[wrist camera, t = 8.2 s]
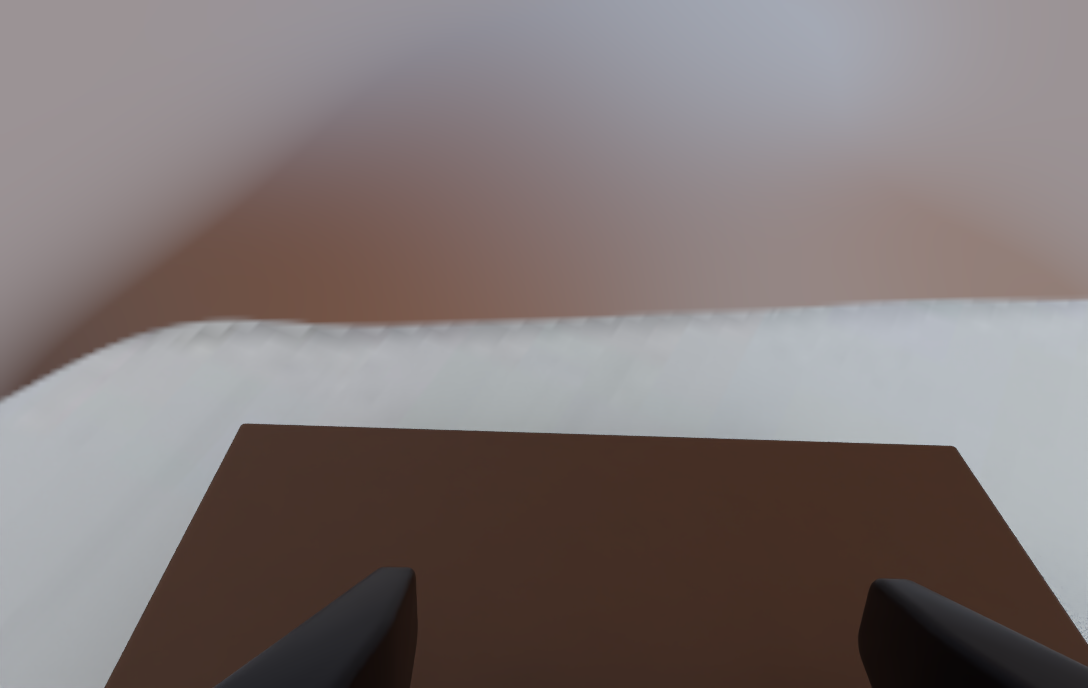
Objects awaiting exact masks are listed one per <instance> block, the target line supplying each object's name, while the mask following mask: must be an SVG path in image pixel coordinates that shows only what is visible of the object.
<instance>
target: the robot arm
mask: <svg viewBox="0 0 1088 688" xmlns="http://www.w3.org/2000/svg"><path fill="white" fill-rule="evenodd" d="M417 634H418V616H417V592H416V575H415V572H414V570H413V569H412V568H409V567H381V568H379V569H377V570H376V571H374V572H373V573H371V574H370V575H369V576H367V577H366V578H364V579H363V580H362V581H360V582H359V583H358V584H356V585H355V586H353V587H352V588H351V589H349V590H348V591H346V592H345V593H344V594H342V595H341V596H339V597H338V598H337V599H335V600H334V601H333V602H331V603H330V604H328V605H327V606H326V607H324V608H323V609H321V610H320V611H319V612H317V613H316V614H315V615H313V616H312V617H310V618H309V619H308V620H306V621H305V622H303V623H302V624H301V625H299V626H298V627H297V628H295V629H294V630H292V631H291V632H290V633H288V634H287V635H285V636H284V637H283V638H281V639H280V640H278V641H277V642H276V643H274V644H273V645H272V646H270V647H269V648H267V649H266V650H265V651H263V652H262V653H260V654H259V655H258V656H256V657H255V658H254V659H252V660H251V661H249V662H248V663H247V664H245V665H244V666H242V667H241V668H240V669H238V670H237V671H236V672H234V673H233V674H231V675H230V676H229V677H227V678H226V679H224V680H223V681H222V682H220V683H219V684H217V685H216V686H215V687H213V688H410V684H411V678H412V671H413V665H414V658H415V652H416V645H417ZM858 647H859V653H860V656H861V660H862V662H863V665H864V668H865V670H866V673H867V676H868V678H869V681H870V684H871V687H872V688H1088V667H1087V666H1085V665H1083V664H1081V663H1079V662H1077V661H1074V660H1072V659H1070V658H1068V657H1066V656H1064V655H1062V654H1060V653H1058V652H1056V651H1054V650H1052V649H1050V648H1048V647H1046V646H1044V645H1042V644H1040V643H1038V642H1036V641H1034V640H1032V639H1030V638H1028V637H1026V636H1023V635H1021V634H1019V633H1017V632H1015V631H1013V630H1011V629H1009V628H1007V627H1005V626H1003V625H1001V624H999V623H997V622H995V621H993V620H991V619H989V618H987V617H985V616H983V615H981V614H979V613H977V612H975V611H972V610H970V609H968V608H966V607H964V606H962V605H960V604H958V603H956V602H954V601H952V600H950V599H948V598H946V597H944V596H942V595H940V594H938V593H936V592H934V591H932V590H930V589H928V588H926V587H923V586H921V585H919V584H917V583H915V582H913V581H911V580H907V579H882V578H880V579H877V580H875V581H874V582H872V584H871V586H870V588H869V591H868V595H867V599H866V603H865V607H864V612H863V616H862V620H861V624H860V628H859V633H858Z"/></svg>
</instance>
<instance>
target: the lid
mask: <svg viewBox="0 0 1088 688" xmlns="http://www.w3.org/2000/svg"><path fill="white" fill-rule="evenodd" d="M381 567H409V568H412V569H413V570H414V572H415V575H416V592H417V616H418V634H417V645H416V652H415V658H414V665H413V671H412V678H411V684H410V688H872V687H871V684H870V681H869V678H868V676H867V673H866V670H865V668H864V665H863V662H862V660H861V656H860V653H859V647H858V633H859V628H860V624H861V620H862V616H863V612H864V607H865V603H866V599H867V595H868V591H869V588H870V586H871V584H872V582H874V581H875V580H877V579H880V578H882V579H907V580H911V581H913V582H915V583H917V584H919V585H921V586H923V587H926V588H928V589H930V590H932V591H934V592H936V593H938V594H940V595H942V596H944V597H946V598H948V599H950V600H952V601H954V602H956V603H958V604H960V605H962V606H964V607H966V608H968V609H970V610H972V611H975V612H977V613H979V614H981V615H983V616H985V617H987V618H989V619H991V620H993V621H995V622H997V623H999V624H1001V625H1003V626H1005V627H1007V628H1009V629H1011V630H1013V631H1015V632H1017V633H1019V634H1021V635H1023V636H1026V637H1028V638H1030V639H1032V640H1034V641H1036V642H1038V643H1040V644H1042V645H1044V646H1046V647H1048V648H1050V649H1052V650H1054V651H1056V652H1058V653H1060V654H1062V655H1064V656H1066V657H1068V658H1070V659H1072V660H1074V661H1077V662H1079V663H1081V664H1083V665H1085V666H1087V667H1088V644H1087V642H1086V641H1085V639H1084V638H1083V636H1082V635H1081V633H1080V632H1079V630H1078V629H1077V628H1076V626H1075V625H1074V623H1073V622H1072V620H1071V619H1070V617H1069V616H1068V614H1067V613H1066V611H1065V610H1064V608H1063V607H1062V605H1061V604H1060V602H1059V601H1058V599H1057V598H1056V596H1055V595H1054V593H1053V592H1052V590H1051V589H1050V587H1049V586H1048V584H1047V583H1046V581H1045V580H1044V578H1043V577H1042V575H1041V574H1040V572H1039V571H1038V569H1037V568H1036V566H1035V565H1034V563H1033V562H1032V561H1031V559H1030V558H1029V556H1028V555H1027V553H1026V552H1025V550H1024V549H1023V547H1022V546H1021V544H1020V543H1019V541H1018V540H1017V538H1016V537H1015V535H1014V534H1013V532H1012V531H1011V529H1010V528H1009V526H1008V525H1007V523H1006V522H1005V520H1004V519H1003V517H1002V516H1001V514H1000V513H999V511H998V510H997V508H996V507H995V505H994V504H993V502H992V501H991V499H990V498H989V497H988V495H987V494H986V492H985V491H984V489H983V488H982V486H981V485H980V483H979V482H978V480H977V479H976V477H975V476H974V474H973V473H972V471H971V470H970V468H969V467H968V465H967V464H966V462H965V461H964V459H963V458H962V456H961V455H960V453H959V452H958V450H957V449H956V448H955V447H953V446H937V445H905V444H874V443H842V442H810V441H779V440H747V439H715V438H684V437H652V436H621V435H589V434H557V433H526V432H494V431H462V430H431V429H399V428H367V427H336V426H304V425H273V424H242V425H241V426H240V428H239V430H238V432H237V434H236V436H235V438H234V440H233V442H232V444H231V446H230V448H229V449H228V451H227V453H226V455H225V457H224V459H223V461H222V463H221V465H220V467H219V469H218V471H217V472H216V474H215V476H214V478H213V480H212V482H211V484H210V486H209V488H208V490H207V492H206V494H205V496H204V497H203V499H202V501H201V503H200V505H199V507H198V509H197V511H196V513H195V515H194V517H193V519H192V520H191V522H190V524H189V526H188V528H187V530H186V532H185V534H184V536H183V538H182V540H181V542H180V544H179V545H178V547H177V549H176V551H175V553H174V555H173V557H172V559H171V561H170V563H169V565H168V567H167V568H166V570H165V572H164V574H163V576H162V578H161V580H160V582H159V584H158V586H157V588H156V590H155V592H154V593H153V595H152V597H151V599H150V601H149V603H148V605H147V607H146V609H145V611H144V613H143V615H142V616H141V618H140V620H139V622H138V624H137V626H136V628H135V630H134V632H133V634H132V636H131V638H130V640H129V641H128V643H127V645H126V647H125V649H124V651H123V653H122V655H121V657H120V659H119V661H118V663H117V664H116V666H115V668H114V670H113V672H112V674H111V676H110V678H109V680H108V682H107V684H106V686H105V688H213V687H215V686H216V685H217V684H219V683H220V682H222V681H223V680H224V679H226V678H227V677H229V676H230V675H231V674H233V673H234V672H236V671H237V670H238V669H240V668H241V667H242V666H244V665H245V664H247V663H248V662H249V661H251V660H252V659H254V658H255V657H256V656H258V655H259V654H260V653H262V652H263V651H265V650H266V649H267V648H269V647H270V646H272V645H273V644H274V643H276V642H277V641H278V640H280V639H281V638H283V637H284V636H285V635H287V634H288V633H290V632H291V631H292V630H294V629H295V628H297V627H298V626H299V625H301V624H302V623H303V622H305V621H306V620H308V619H309V618H310V617H312V616H313V615H315V614H316V613H317V612H319V611H320V610H321V609H323V608H324V607H326V606H327V605H328V604H330V603H331V602H333V601H334V600H335V599H337V598H338V597H339V596H341V595H342V594H344V593H345V592H346V591H348V590H349V589H351V588H352V587H353V586H355V585H356V584H358V583H359V582H360V581H362V580H363V579H364V578H366V577H367V576H369V575H370V574H371V573H373V572H374V571H376V570H377V569H379V568H381Z"/></svg>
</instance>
